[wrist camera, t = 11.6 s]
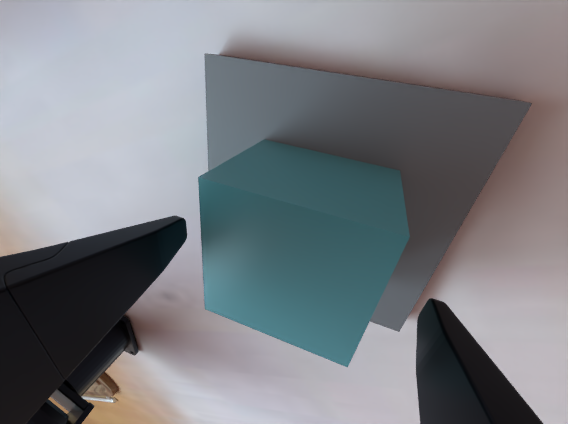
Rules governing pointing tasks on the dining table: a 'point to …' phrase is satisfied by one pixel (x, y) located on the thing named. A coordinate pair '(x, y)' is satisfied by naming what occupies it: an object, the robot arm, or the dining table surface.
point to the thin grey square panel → (371, 145)
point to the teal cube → (300, 244)
